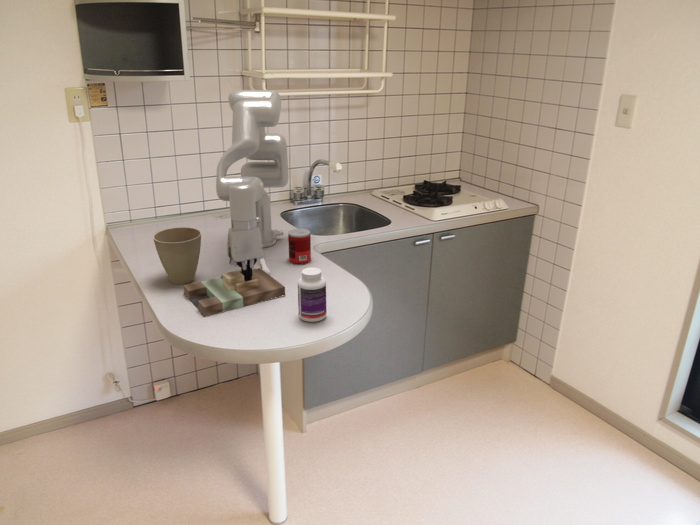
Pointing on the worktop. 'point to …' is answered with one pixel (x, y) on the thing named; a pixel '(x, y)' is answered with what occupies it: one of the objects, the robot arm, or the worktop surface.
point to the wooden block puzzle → (232, 293)
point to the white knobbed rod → (264, 266)
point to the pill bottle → (312, 295)
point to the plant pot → (179, 252)
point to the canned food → (299, 246)
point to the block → (232, 279)
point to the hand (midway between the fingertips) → (247, 279)
